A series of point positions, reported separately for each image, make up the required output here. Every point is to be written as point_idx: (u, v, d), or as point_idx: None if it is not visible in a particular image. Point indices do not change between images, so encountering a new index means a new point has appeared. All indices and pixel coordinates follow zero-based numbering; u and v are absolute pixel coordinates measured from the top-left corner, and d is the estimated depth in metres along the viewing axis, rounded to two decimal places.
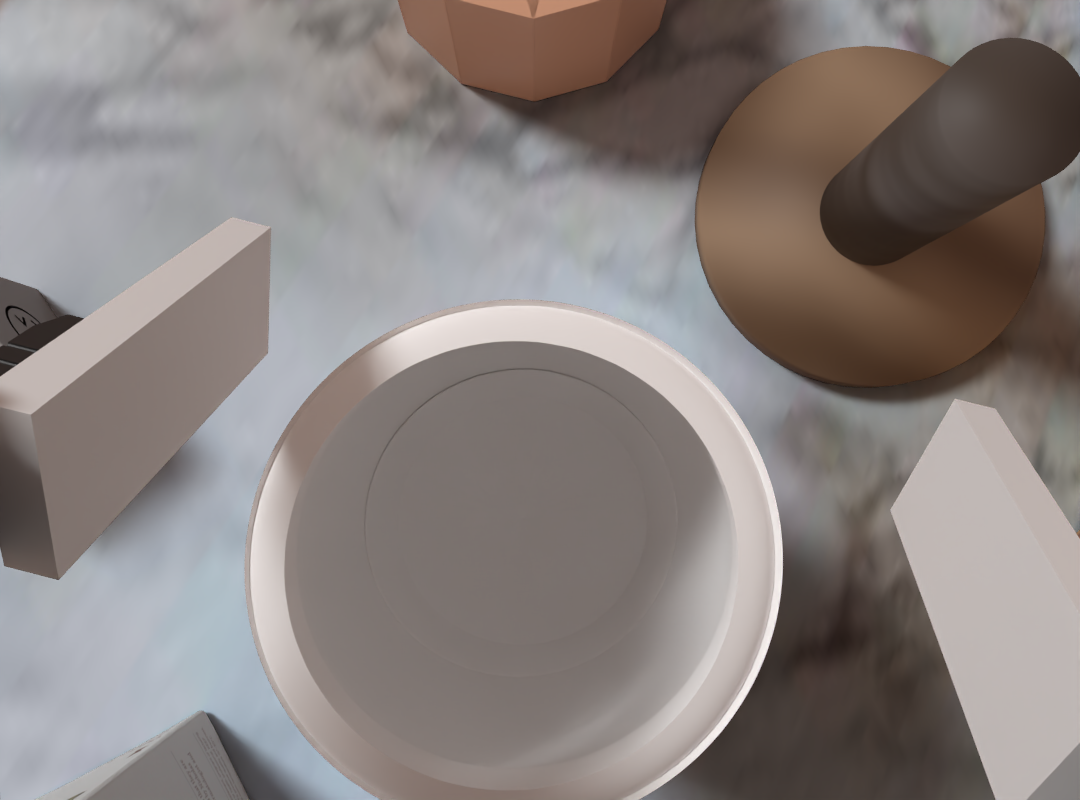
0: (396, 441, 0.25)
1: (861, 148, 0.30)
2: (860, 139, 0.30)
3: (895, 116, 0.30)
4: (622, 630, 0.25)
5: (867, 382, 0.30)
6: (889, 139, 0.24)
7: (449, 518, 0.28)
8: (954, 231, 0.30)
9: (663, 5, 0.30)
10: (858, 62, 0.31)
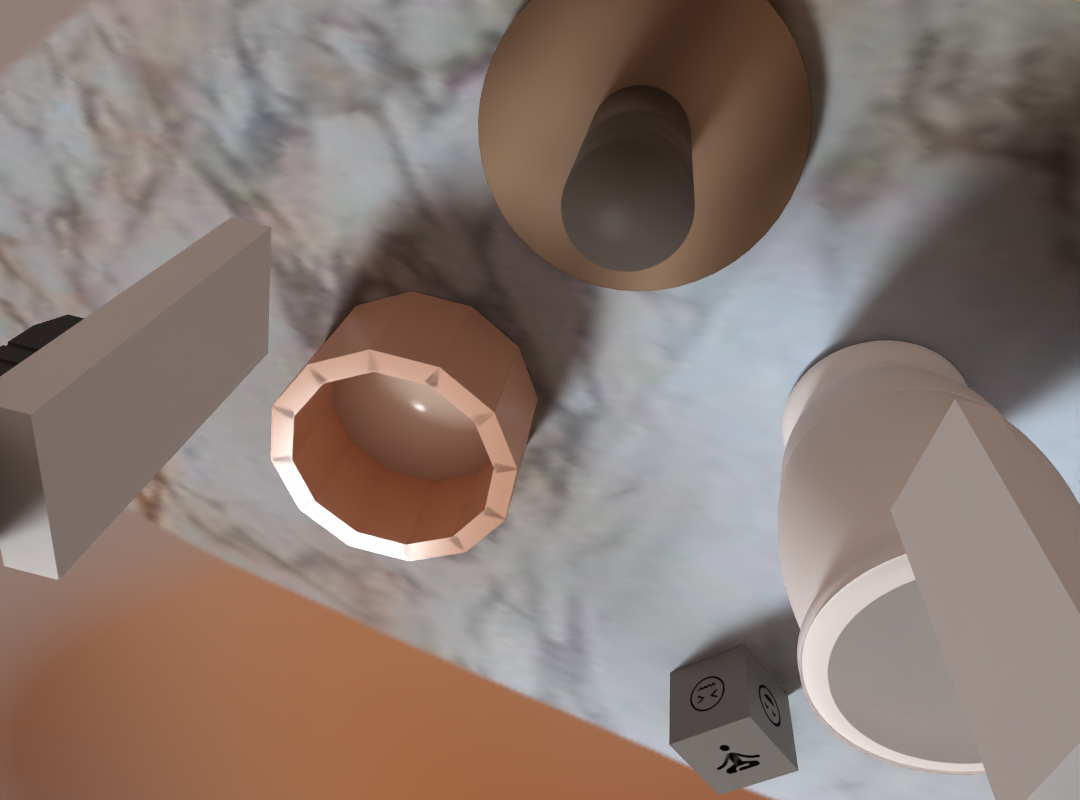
0: None
1: (576, 147, 0.32)
2: (568, 149, 0.32)
3: (544, 113, 0.32)
4: None
5: (805, 146, 0.31)
6: None
7: None
8: (659, 54, 0.30)
9: (464, 324, 0.36)
10: (494, 149, 0.33)
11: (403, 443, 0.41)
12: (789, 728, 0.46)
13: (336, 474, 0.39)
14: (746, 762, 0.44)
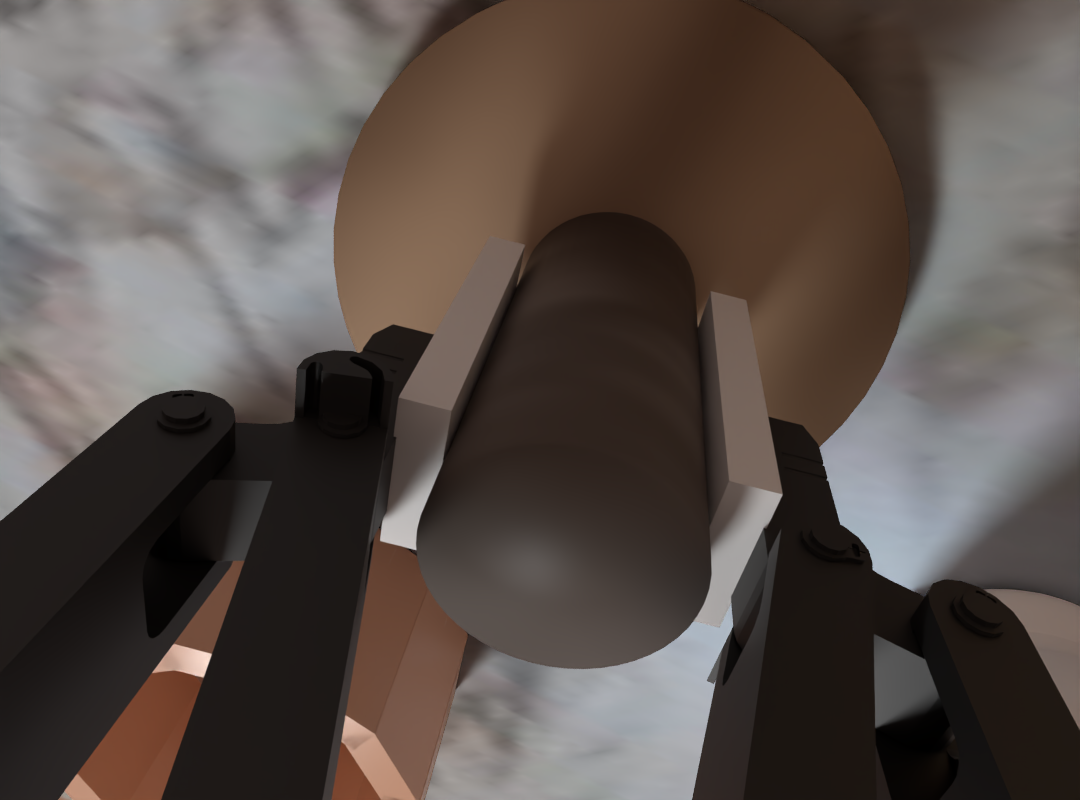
0: None
1: None
2: None
3: (444, 254, 0.19)
4: None
5: (896, 316, 0.18)
6: None
7: None
8: (639, 161, 0.17)
9: None
10: (365, 307, 0.19)
11: None
12: None
13: (165, 753, 0.26)
14: None
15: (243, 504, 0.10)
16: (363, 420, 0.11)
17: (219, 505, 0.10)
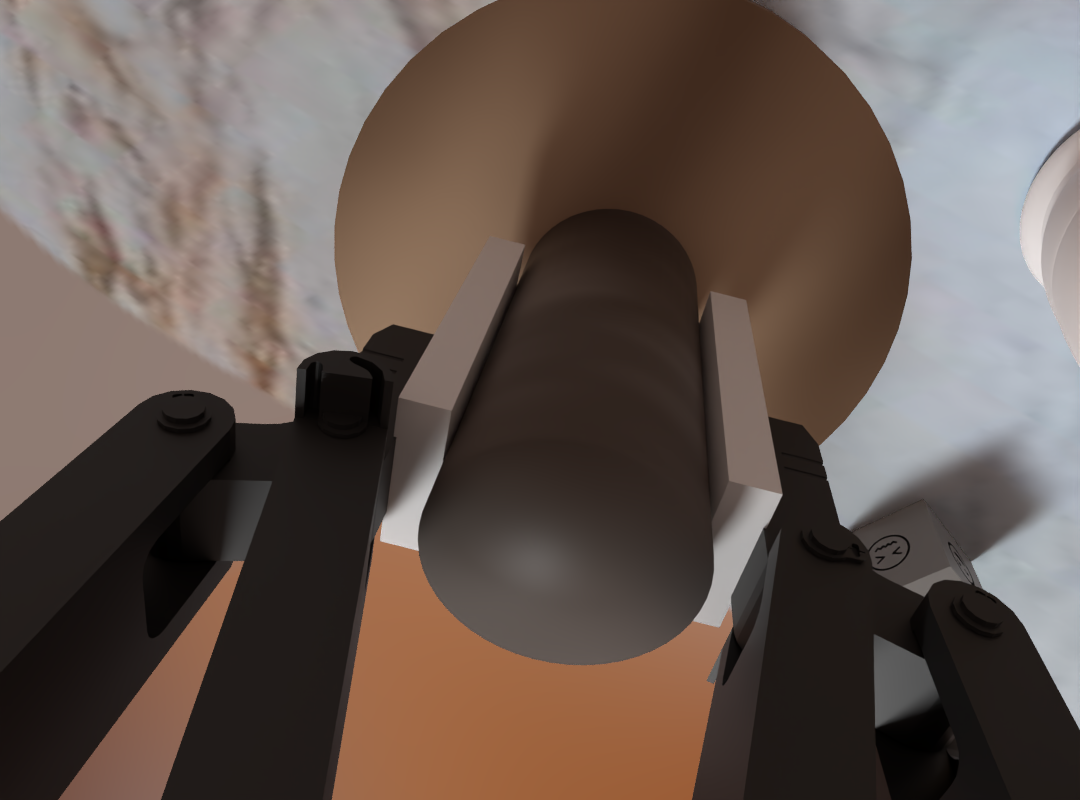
0: None
1: None
2: None
3: (444, 251, 0.18)
4: None
5: (897, 313, 0.18)
6: None
7: None
8: (641, 158, 0.17)
9: None
10: (366, 304, 0.19)
11: None
12: None
13: None
14: None
15: (242, 504, 0.10)
16: (363, 420, 0.11)
17: (219, 504, 0.10)
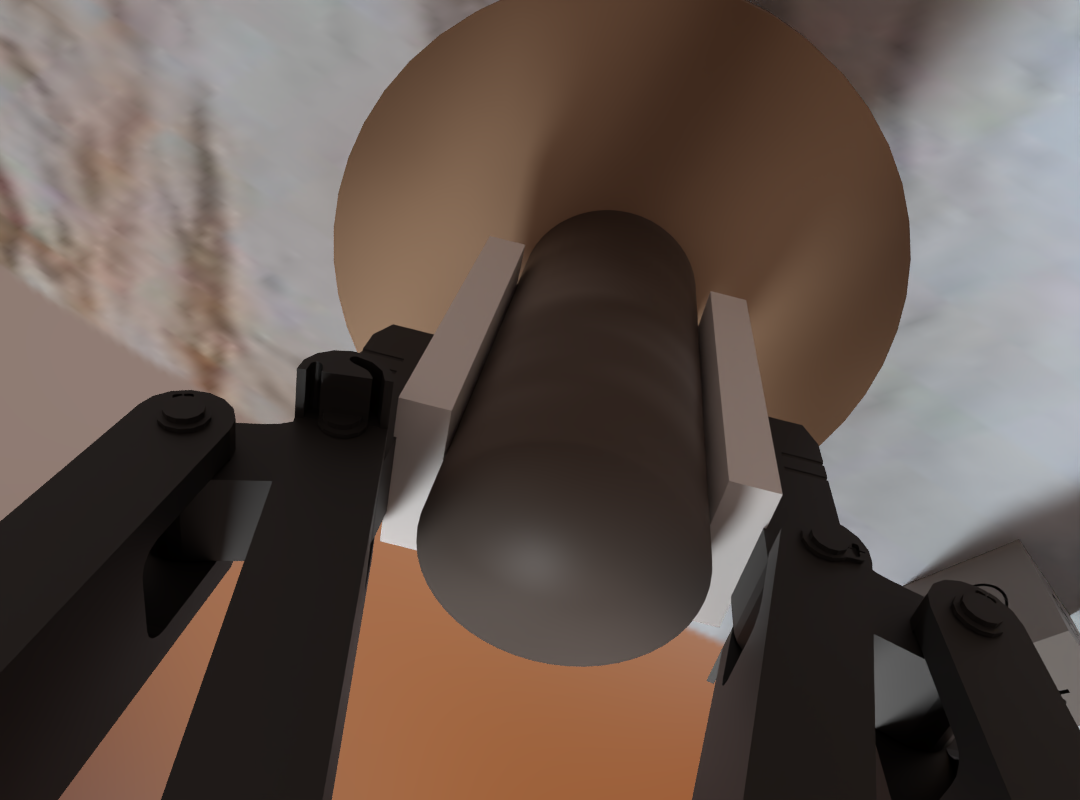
0: None
1: None
2: None
3: (444, 252, 0.18)
4: None
5: (896, 314, 0.18)
6: None
7: None
8: (640, 159, 0.17)
9: None
10: (365, 305, 0.19)
11: None
12: None
13: None
14: None
15: (243, 504, 0.10)
16: (363, 420, 0.11)
17: (219, 504, 0.10)
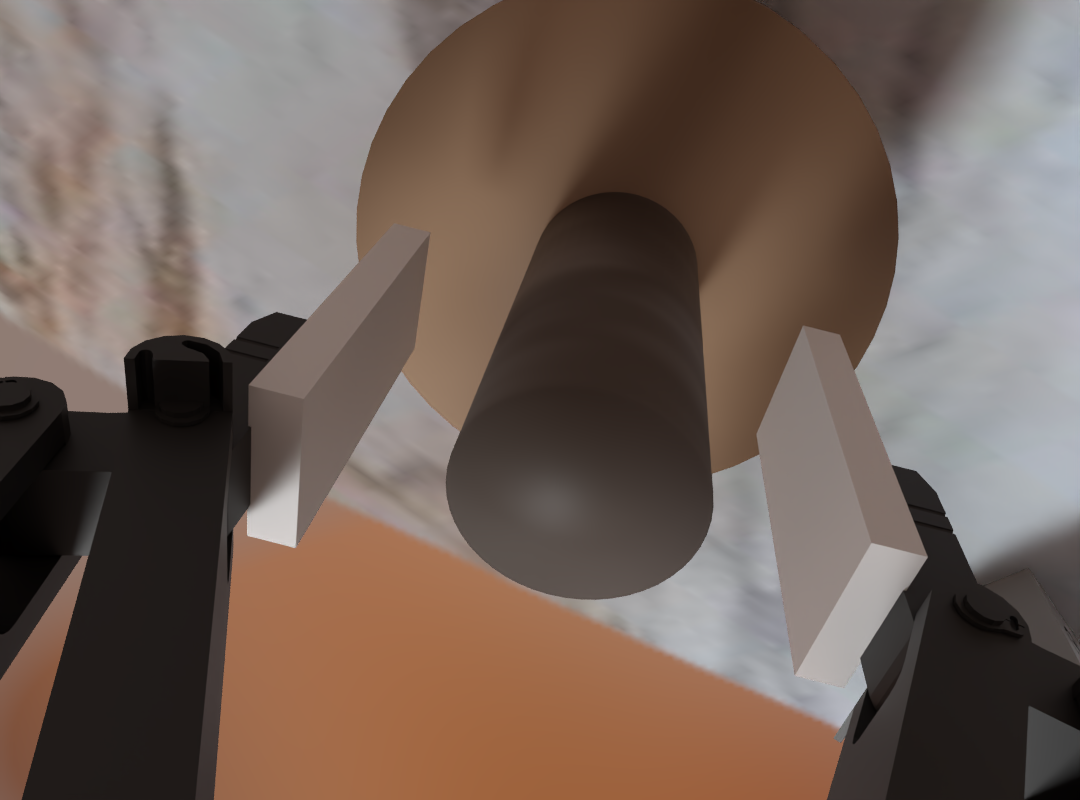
0: None
1: (514, 284, 0.20)
2: (501, 286, 0.20)
3: (460, 232, 0.20)
4: None
5: (885, 290, 0.19)
6: None
7: None
8: (645, 144, 0.18)
9: None
10: None
11: None
12: None
13: None
14: None
15: (74, 496, 0.10)
16: (205, 406, 0.10)
17: (47, 496, 0.10)
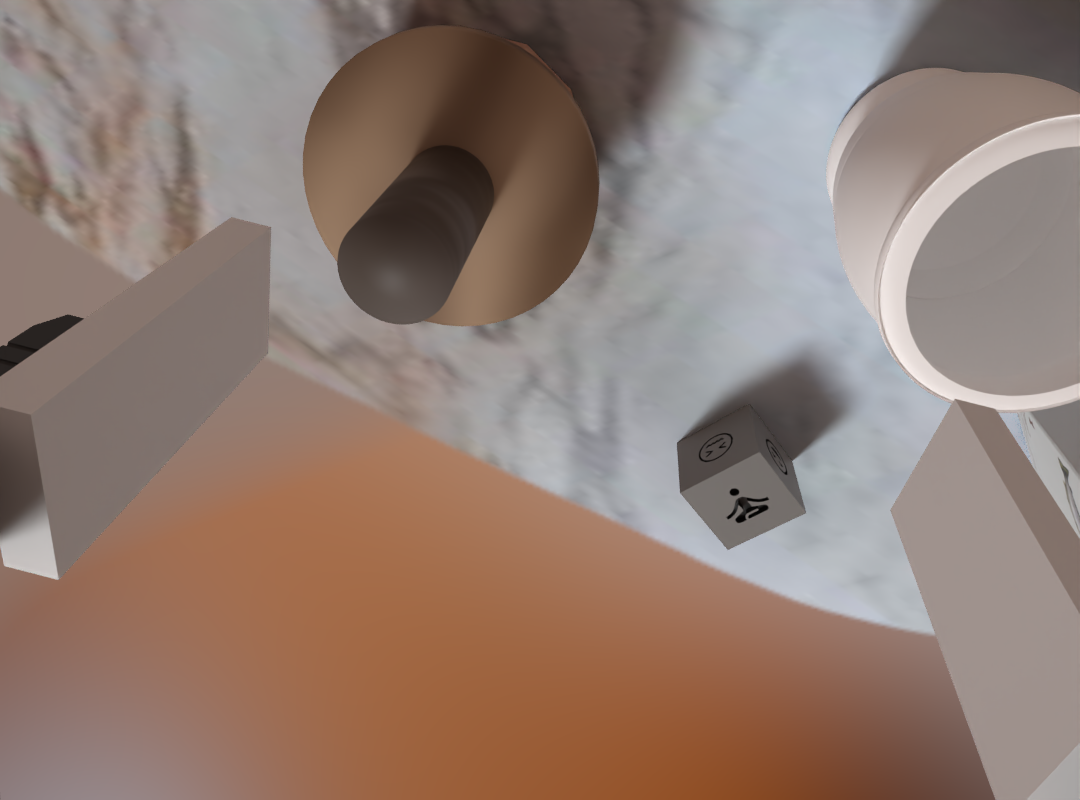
0: None
1: None
2: None
3: (362, 168, 0.35)
4: None
5: (595, 202, 0.35)
6: None
7: None
8: (459, 118, 0.33)
9: None
10: (320, 198, 0.36)
11: None
12: (795, 482, 0.47)
13: None
14: (755, 508, 0.45)
15: None
16: None
17: None
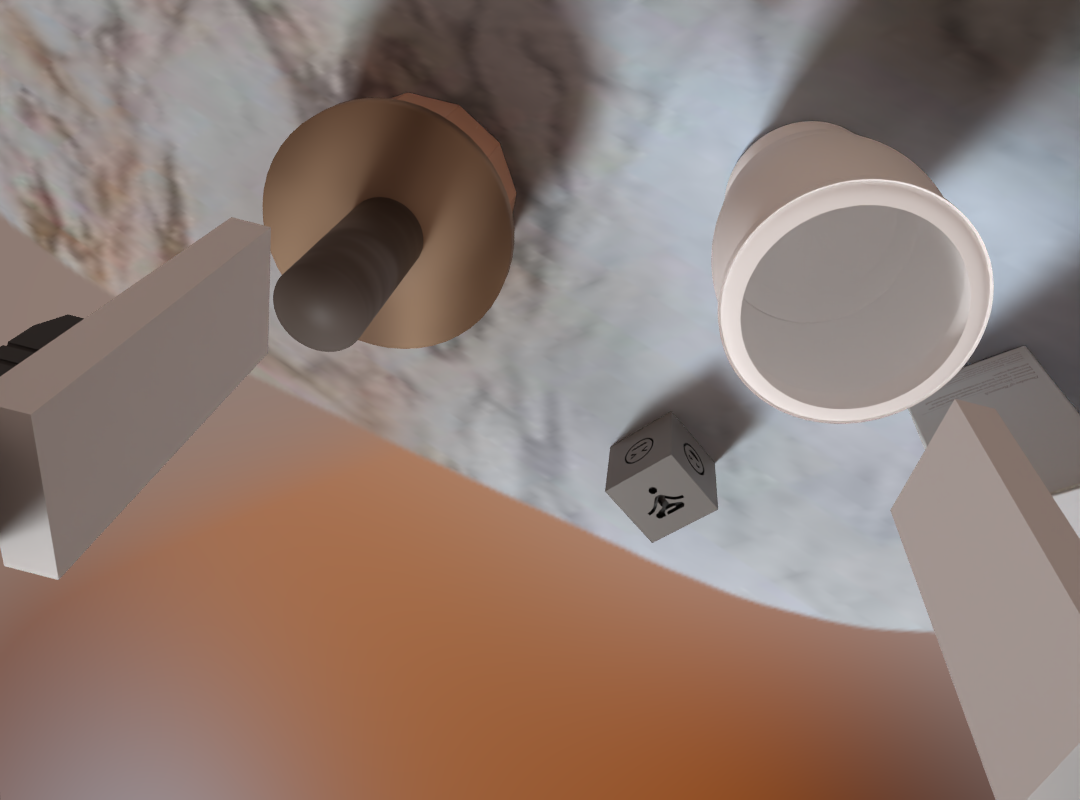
0: (756, 304, 0.42)
1: None
2: None
3: (312, 216, 0.41)
4: None
5: (508, 243, 0.40)
6: None
7: (804, 260, 0.43)
8: (389, 175, 0.39)
9: (452, 113, 0.43)
10: (278, 241, 0.42)
11: None
12: (713, 481, 0.52)
13: None
14: (673, 505, 0.50)
15: None
16: None
17: None
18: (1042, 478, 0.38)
